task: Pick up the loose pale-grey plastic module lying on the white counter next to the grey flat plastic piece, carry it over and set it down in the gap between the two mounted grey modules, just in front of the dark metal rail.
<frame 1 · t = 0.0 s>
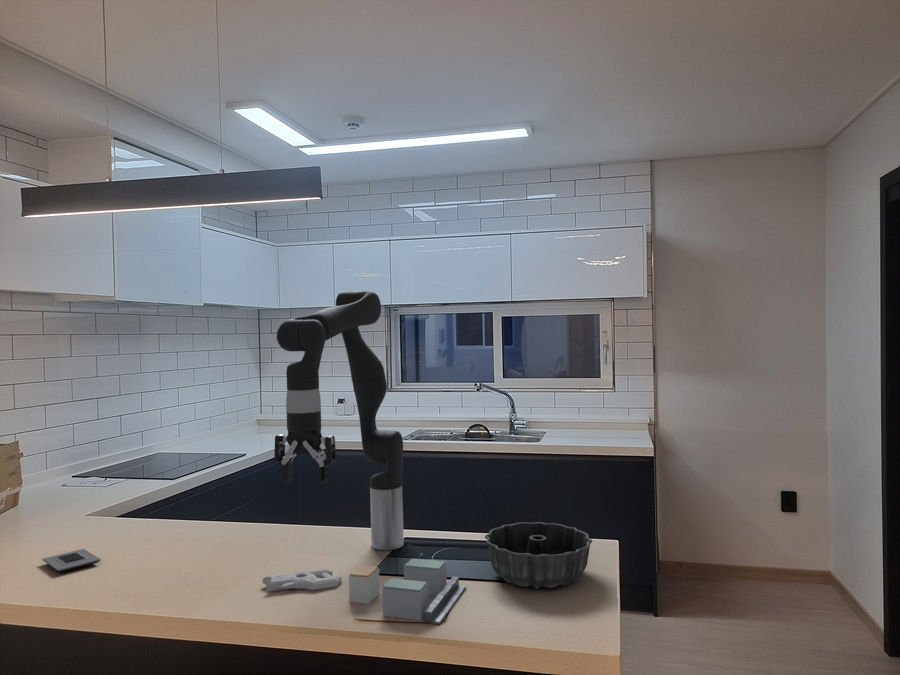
hand: (305, 481, 150), 29 cm above the countertop, tool pointing down, fingers open, 8 cm apart
module 2: (425, 590, 161), on the countertop
grey flat plastic piece: (303, 587, 166), on the countertop
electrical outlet: (71, 567, 185), on the countertop
rail: (443, 604, 153), on the countertop
bundt pan: (538, 577, 169), on the countertop
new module: (364, 597, 158), on the countertop
module 1: (405, 613, 149), on the countertop
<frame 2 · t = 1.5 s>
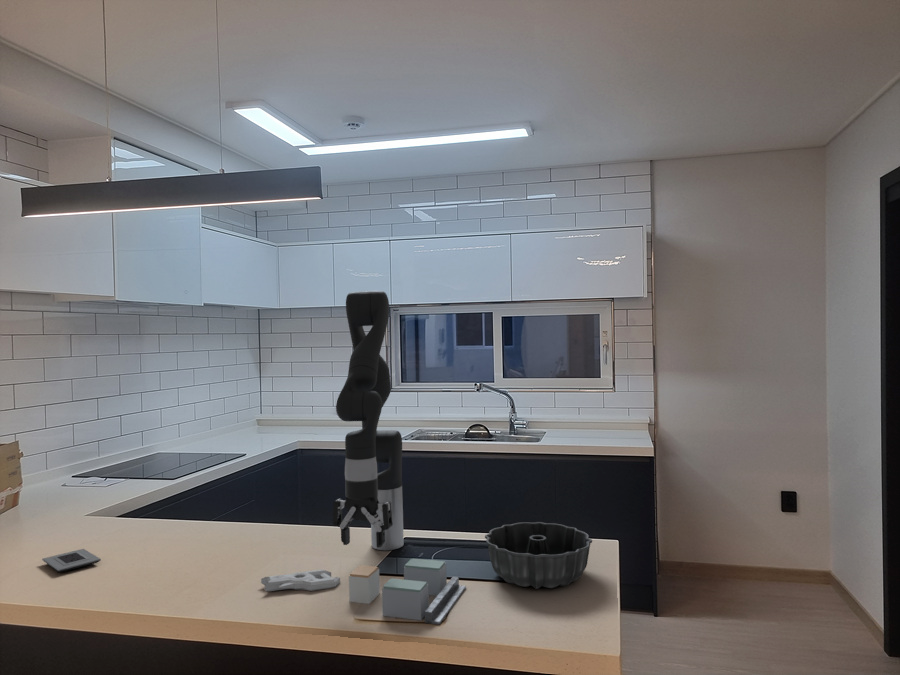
hand: (363, 545, 157), 12 cm above the countertop, tool pointing down, fingers open, 8 cm apart
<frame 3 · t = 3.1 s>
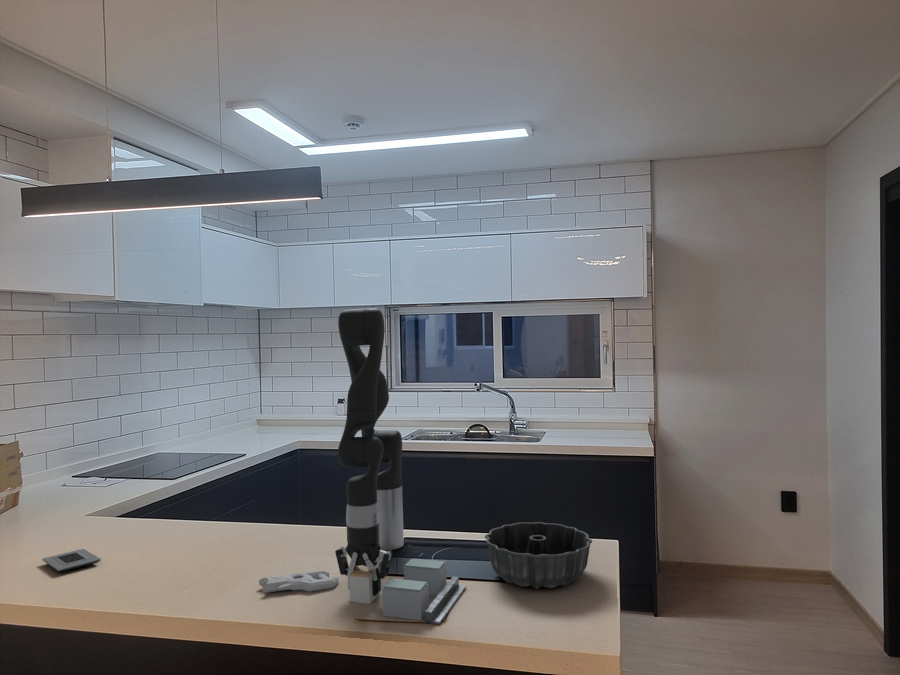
hand: (364, 593, 158), 1 cm above the countertop, tool pointing down, fingers closed on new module, 5 cm apart
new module: (365, 597, 158), on the countertop, touching gripper
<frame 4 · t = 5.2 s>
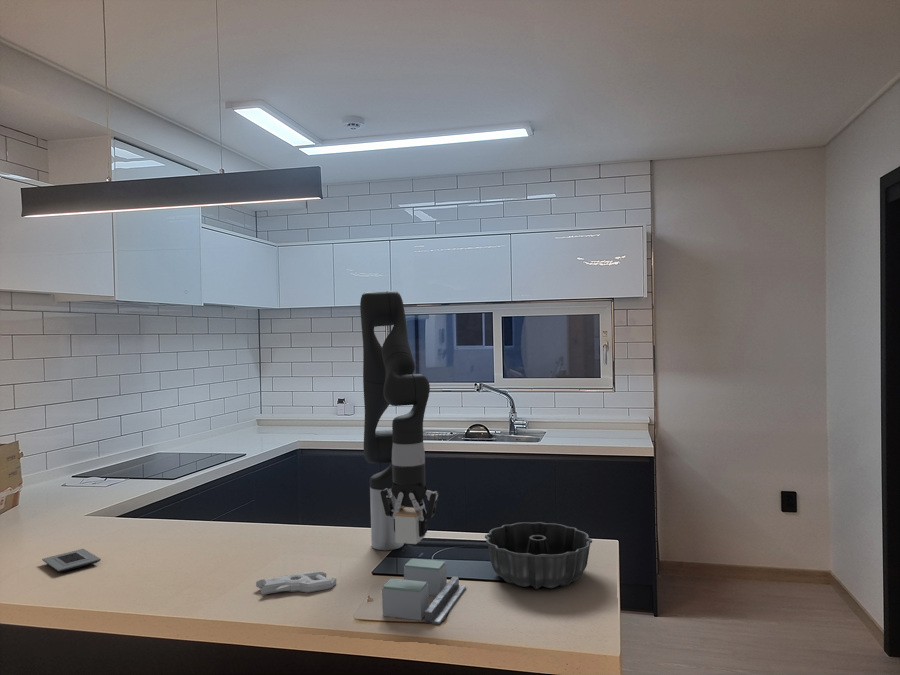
hand: (410, 534, 155), 15 cm above the countertop, tool pointing down, fingers closed on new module, 5 cm apart
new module: (410, 539, 155), point 14 cm above the countertop, touching gripper
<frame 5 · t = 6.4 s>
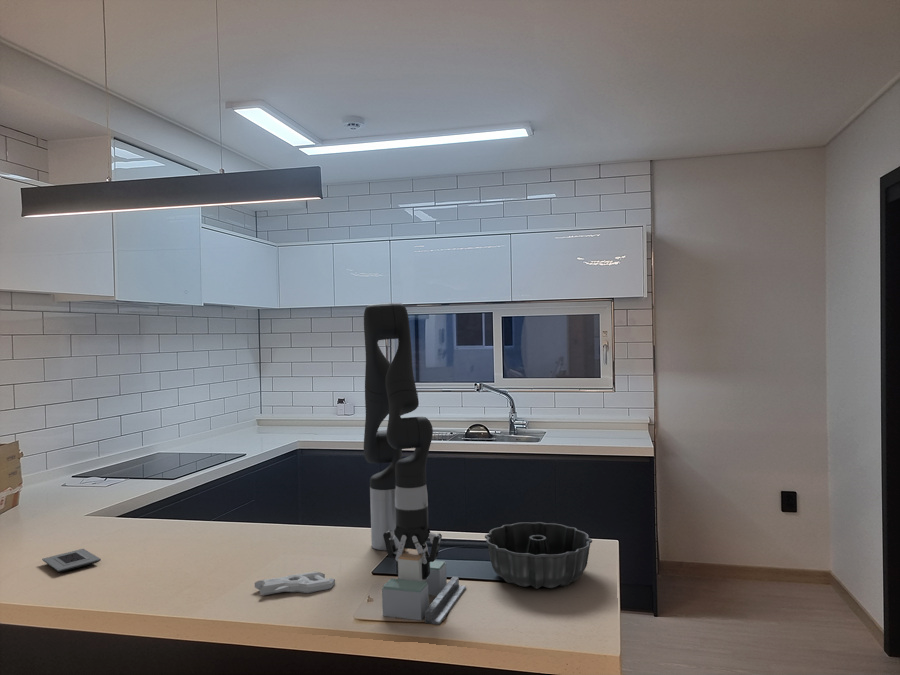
hand: (413, 577, 155), 6 cm above the countertop, tool pointing down, fingers closed on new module, 5 cm apart
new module: (413, 581, 155), point 5 cm above the countertop, touching gripper
when the fingers open (2 cm above the countertop, at t = 7.4 s): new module drops 1 cm, on the countertop.
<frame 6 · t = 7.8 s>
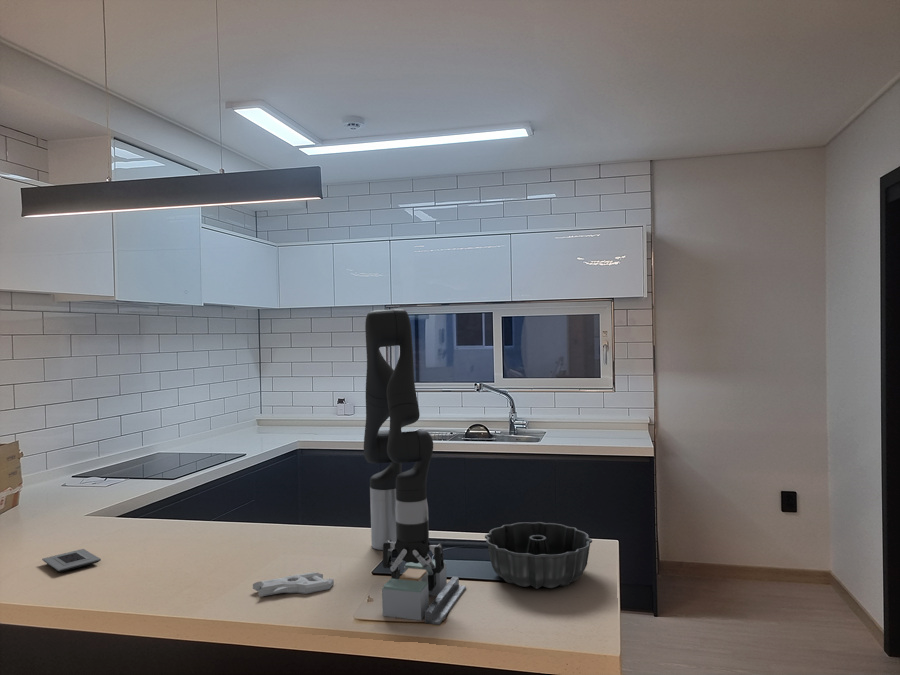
hand: (413, 587, 155), 3 cm above the countertop, tool pointing down, fingers open, 8 cm apart
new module: (414, 601, 155), on the countertop
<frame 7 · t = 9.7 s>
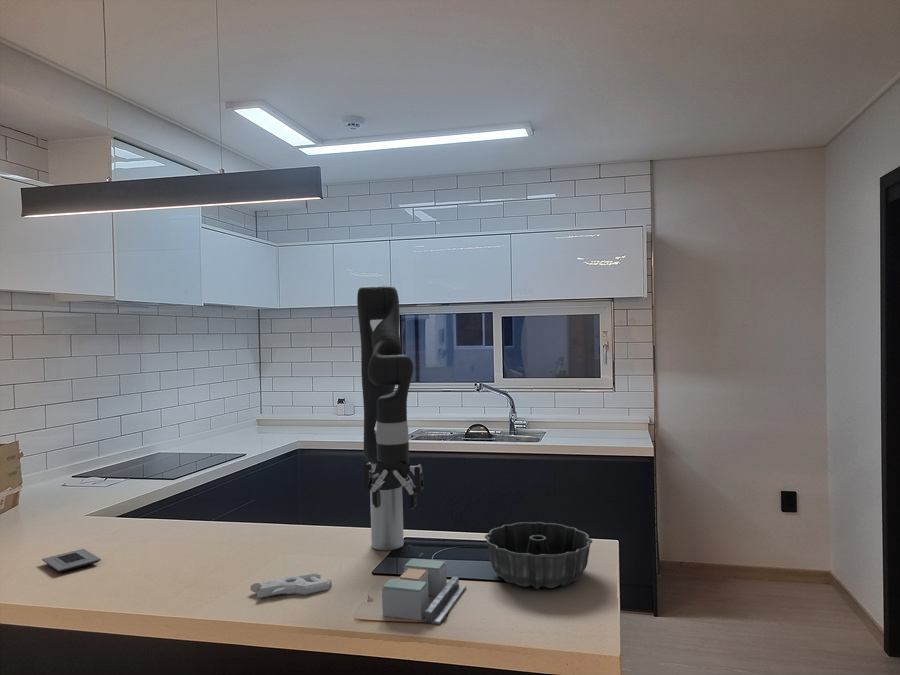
hand: (394, 507, 159), 21 cm above the countertop, tool pointing down, fingers open, 8 cm apart
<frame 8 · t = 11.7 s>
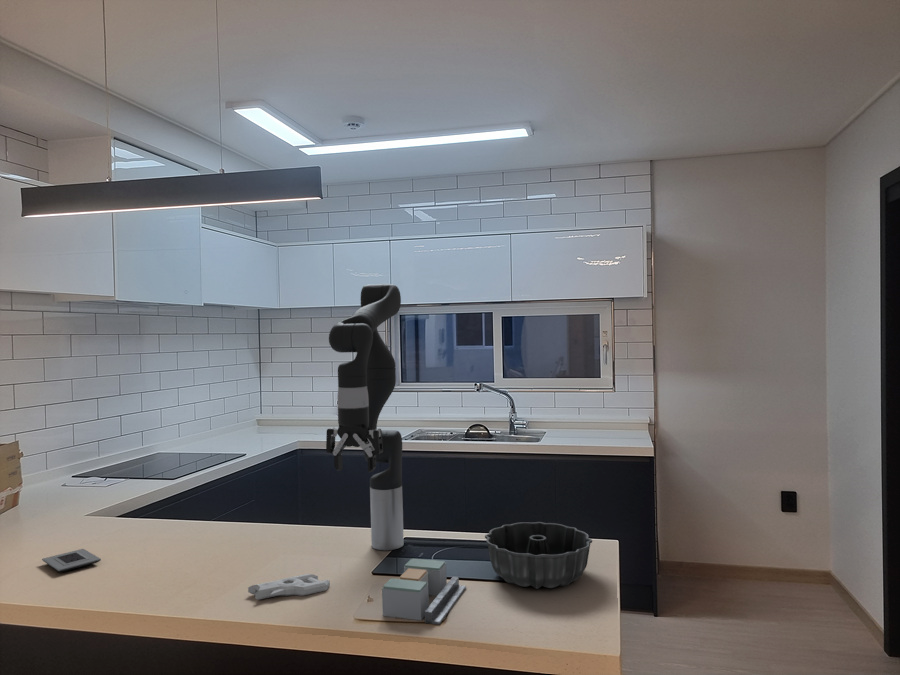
hand: (355, 470, 165), 28 cm above the countertop, tool pointing down, fingers open, 8 cm apart
at the end: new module inside the target area (0.5 cm from its centre), on the countertop; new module tilted 0°; the gripper is holding nothing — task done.
